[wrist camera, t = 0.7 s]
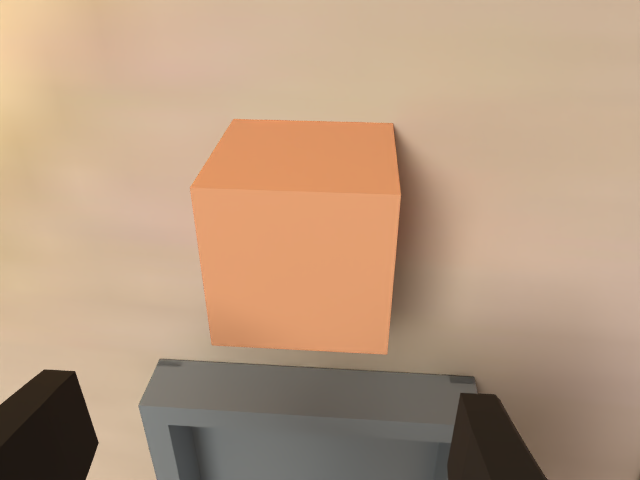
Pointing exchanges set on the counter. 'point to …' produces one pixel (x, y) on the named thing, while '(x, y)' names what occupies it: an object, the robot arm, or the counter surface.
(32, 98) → the counter surface
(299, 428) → the slate tray
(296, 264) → the orange block
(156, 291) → the counter surface
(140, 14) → the counter surface
